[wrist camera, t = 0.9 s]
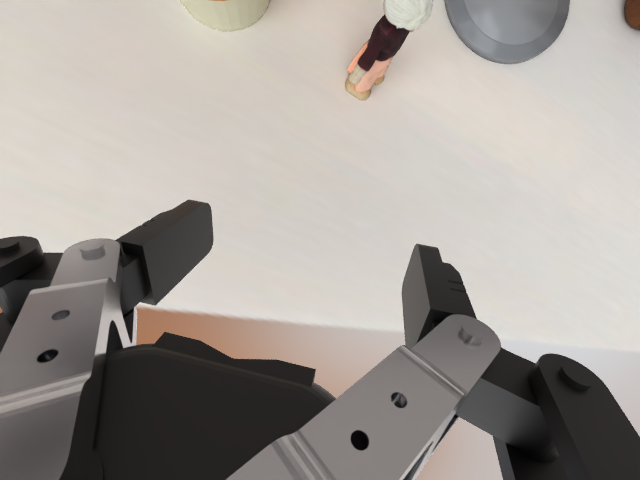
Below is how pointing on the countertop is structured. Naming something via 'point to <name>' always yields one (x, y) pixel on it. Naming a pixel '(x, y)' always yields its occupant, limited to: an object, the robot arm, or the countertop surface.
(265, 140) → the countertop surface
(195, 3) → the reusable coffee cup
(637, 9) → the wooden figurine
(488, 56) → the slate coaster
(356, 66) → the grandmother figurine
